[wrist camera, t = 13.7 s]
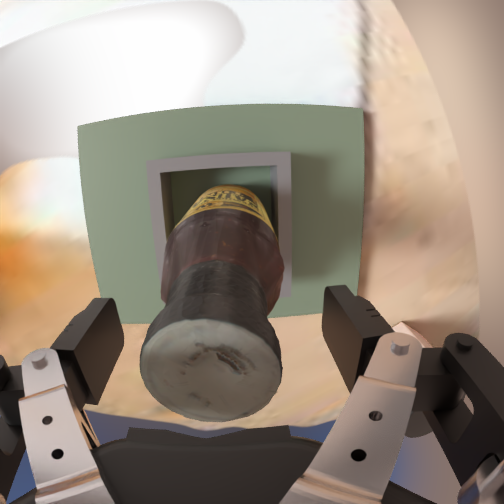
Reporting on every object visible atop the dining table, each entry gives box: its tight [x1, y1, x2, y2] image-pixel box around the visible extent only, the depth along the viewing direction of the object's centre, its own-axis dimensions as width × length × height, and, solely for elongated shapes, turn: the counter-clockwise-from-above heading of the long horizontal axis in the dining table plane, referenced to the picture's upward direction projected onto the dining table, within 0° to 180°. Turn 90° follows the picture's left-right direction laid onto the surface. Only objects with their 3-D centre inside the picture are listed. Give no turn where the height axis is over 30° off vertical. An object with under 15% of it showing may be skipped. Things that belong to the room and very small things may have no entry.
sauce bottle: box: [140, 184, 285, 422], centre depth 17 cm, size 7×6×20 cm
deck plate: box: [78, 104, 364, 324], centre depth 25 cm, size 26×20×6 cm
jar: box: [392, 322, 466, 438], centre depth 29 cm, size 9×8×12 cm
